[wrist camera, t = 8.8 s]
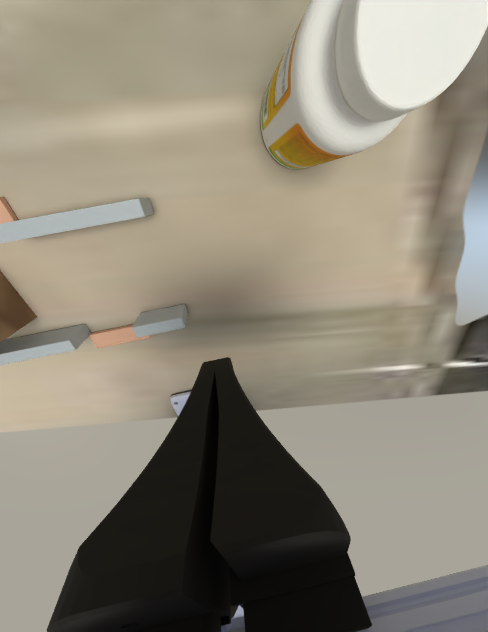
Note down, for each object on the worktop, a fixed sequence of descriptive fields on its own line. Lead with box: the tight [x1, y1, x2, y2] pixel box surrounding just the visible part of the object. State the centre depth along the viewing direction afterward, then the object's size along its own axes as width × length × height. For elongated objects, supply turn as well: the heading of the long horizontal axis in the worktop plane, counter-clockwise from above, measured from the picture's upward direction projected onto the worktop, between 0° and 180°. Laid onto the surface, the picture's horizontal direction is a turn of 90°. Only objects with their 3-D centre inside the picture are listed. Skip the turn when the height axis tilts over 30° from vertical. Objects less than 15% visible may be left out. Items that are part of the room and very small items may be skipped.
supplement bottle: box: [261, 0, 488, 169], centre depth 10 cm, size 5×5×10 cm
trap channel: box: [0, 197, 188, 365], centre depth 16 cm, size 12×18×2 cm
